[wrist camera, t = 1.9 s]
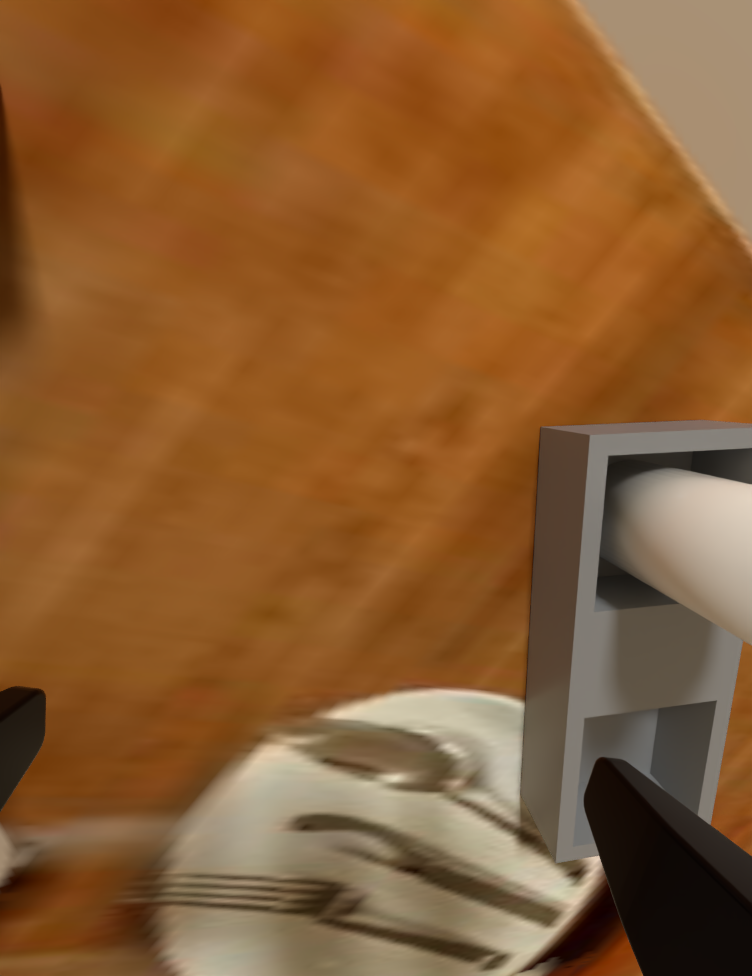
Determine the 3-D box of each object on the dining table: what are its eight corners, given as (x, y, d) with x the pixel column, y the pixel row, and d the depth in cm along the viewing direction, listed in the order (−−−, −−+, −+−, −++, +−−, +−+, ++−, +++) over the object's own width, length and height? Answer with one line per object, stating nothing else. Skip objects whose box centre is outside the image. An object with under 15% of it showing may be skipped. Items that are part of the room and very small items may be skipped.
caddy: (520, 794, 24) (555, 863, 20) (540, 426, 19) (590, 435, 16) (653, 773, 25) (708, 835, 21) (701, 419, 20) (780, 426, 17)
